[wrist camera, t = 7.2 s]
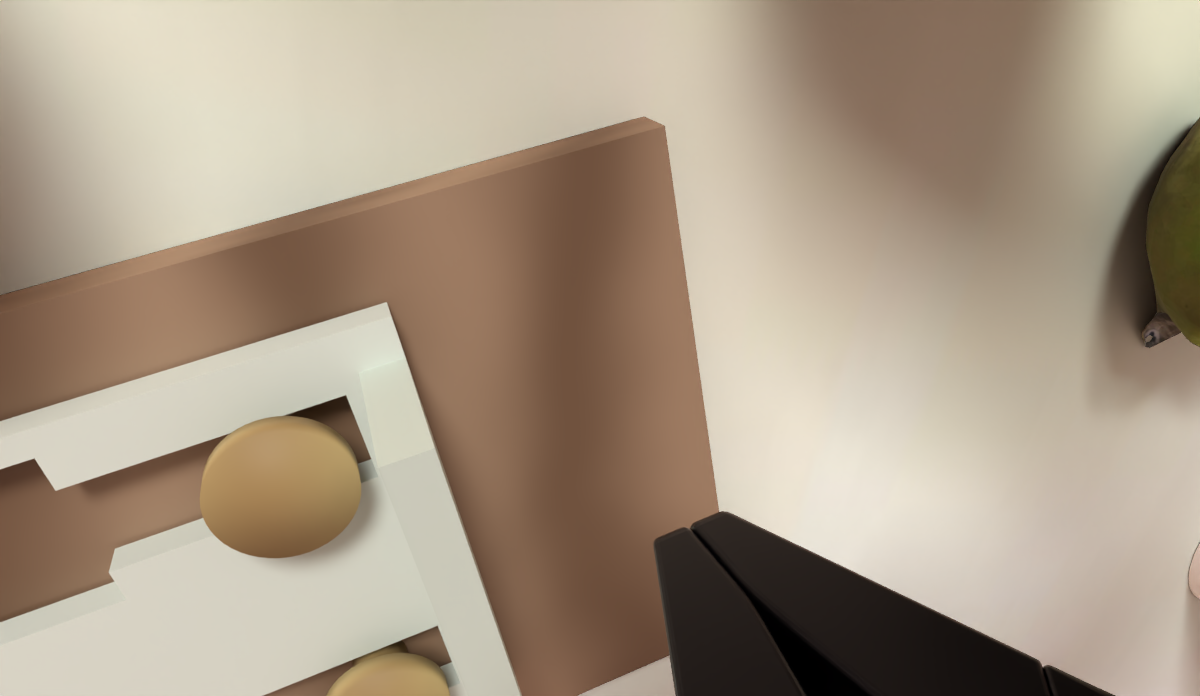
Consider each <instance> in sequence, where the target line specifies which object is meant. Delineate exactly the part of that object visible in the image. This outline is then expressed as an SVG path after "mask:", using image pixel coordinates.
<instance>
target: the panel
mask: <svg viewBox="0 0 1200 696" xmlns="http://www.w3.org/2000/svg"><path fill="white" fill-rule="evenodd" d="M345 395H346V396H347V399H348V401H349V404H350V406H351V409H352V411H353V414H354V416H355V419H356V421H357V424H358V427H359V429H360V432H361V434H362V437H363V439H364V442H365V444H366V447H367V449H368V452H369V454H370V457H371V459H370V460H367V461H365V462H362V463H359V464H358V468H359V474H360V481H361V498H360V503H359V506H358V509H357V511H356V513H355V515H354V517H353V519H352V520H351V522H350V523H349V525H348V526H347V527H346V528H345V529H344V530H343V531H342V532H341V533H340V534H339V535H338V536H337V537H336V538H334V539H333V540H331V541H330V542H329V543H327V544H325V545H323V546H322V547H320V548H318V549H315V550H313V551H311V552H308V553H305V554H301V555H297V556H293V557H286V558H262V557H256V556H251V555H247V554H244V553H241V552H238V551H236V550H234V549H232V548H230V547H229V546H227V545H225V544H224V543H222V542H221V541H220V540H219V539H218V538H216V536H215V535H214V534H213V533H212V532H211V531H210V529H209V528H208V526H207V525H206V523H205V521H204V519H203V518H201V519H199V520H196V521H193V522H190V523H187V524H184V525H181V526H178V527H176V528H173V529H170V530H167V531H164V532H161V533H158V534H156V535H153V536H150V537H147V538H144V539H141V540H138V541H135V542H133V543H130V544H127V545H124V546H121V547H118V548H115V551H114V554H113V558H112V562H111V566H110V569H109V574H110V575H111V577H112V578H113V580H114V581H115V582H112V583H109V584H106V585H103V586H101V587H98V588H95V589H92V590H89V591H87V592H84V593H81V594H78V595H75V596H73V597H70V598H67V599H64V600H61V601H59V602H56V603H53V604H50V605H48V606H45V607H42V608H39V609H36V610H34V611H31V612H28V613H25V614H22V615H20V616H17V617H14V618H11V619H8V620H6V621H3V622H0V696H263V695H266V694H268V693H271V692H273V691H276V690H278V689H281V688H283V687H286V686H288V685H291V684H293V683H296V682H298V681H301V680H303V679H306V678H308V677H311V676H313V675H316V674H318V673H321V672H323V671H326V670H328V669H331V668H333V667H336V666H338V665H341V664H343V663H346V662H348V661H351V660H353V659H356V658H358V657H361V656H363V655H366V654H368V653H371V652H373V651H376V650H378V649H381V648H383V647H386V646H388V645H391V644H393V643H396V642H398V641H401V640H403V639H406V638H408V637H410V636H413V635H415V634H418V633H420V632H423V631H425V630H428V629H430V628H433V627H435V626H438V628H439V631H440V633H441V636H442V638H443V641H444V643H445V646H446V648H447V651H448V653H449V656H450V658H451V661H452V662H451V663H448V664H446V665H443V666H441V667H440V668H441V670H442V671H443V673H444V674H445V677H446V680H447V684H448V688H449V692H450V696H522V694H521V691H520V688H519V685H518V682H517V679H516V676H515V673H514V670H513V667H512V664H511V661H510V658H509V655H508V652H507V650H506V647H505V644H504V641H503V638H502V635H501V632H500V629H499V626H498V623H497V621H496V618H495V615H494V612H493V609H492V606H491V603H490V600H489V597H488V594H487V592H486V589H485V586H484V583H483V580H482V577H481V574H480V571H479V568H478V565H477V563H476V560H475V557H474V554H473V551H472V548H471V545H470V542H469V539H468V536H467V533H466V531H465V528H464V525H463V522H462V519H461V516H460V513H459V510H458V507H457V504H456V502H455V499H454V496H453V493H452V490H451V487H450V484H449V481H448V478H447V475H446V473H445V470H444V467H443V464H442V461H441V458H440V455H439V452H438V449H437V446H436V444H435V441H434V438H433V435H432V432H431V429H430V426H429V423H428V420H427V417H426V415H425V412H424V409H423V406H422V403H421V400H420V397H419V394H418V391H417V388H416V386H415V383H414V380H413V377H412V374H411V371H410V368H409V365H408V362H407V359H406V356H405V354H404V351H403V348H402V345H401V342H400V339H399V336H398V333H397V330H396V327H395V325H394V322H393V319H392V316H391V313H390V310H389V307H388V304H387V302H385V303H382V304H379V305H376V306H372V307H369V308H366V309H363V310H359V311H356V312H353V313H350V314H346V315H343V316H340V317H337V318H333V319H330V320H327V321H324V322H320V323H317V324H314V325H311V326H307V327H304V328H301V329H298V330H294V331H291V332H288V333H285V334H281V335H278V336H275V337H272V338H268V339H265V340H262V341H259V342H256V343H252V344H249V345H246V346H243V347H239V348H236V349H233V350H230V351H226V352H223V353H220V354H217V355H213V356H210V357H207V358H204V359H200V360H197V361H194V362H191V363H187V364H184V365H181V366H178V367H174V368H171V369H168V370H165V371H161V372H158V373H155V374H152V375H148V376H145V377H142V378H139V379H136V380H132V381H129V382H126V383H123V384H119V385H116V386H113V387H110V388H106V389H103V390H100V391H97V392H93V393H90V394H87V395H84V396H80V397H77V398H74V399H71V400H67V401H64V402H61V403H58V404H54V405H51V406H48V407H45V408H41V409H38V410H35V411H32V412H29V413H25V414H22V415H19V416H16V417H12V418H9V419H6V420H3V421H0V469H3V468H6V467H9V466H12V465H15V464H19V463H22V462H25V461H28V460H31V459H34V458H35V460H36V462H37V463H38V465H39V466H40V468H41V469H42V471H43V472H44V474H45V475H46V477H47V478H48V480H49V482H50V483H51V485H52V486H53V488H54V489H55V491H57V490H60V489H63V488H66V487H69V486H72V485H75V484H78V483H81V482H84V481H87V480H90V479H93V478H96V477H99V476H102V475H105V474H108V473H111V472H114V471H117V470H120V469H123V468H126V467H129V466H133V465H136V464H139V463H142V462H145V461H148V460H151V459H154V458H157V457H160V456H163V455H166V454H169V453H172V452H175V451H178V450H181V449H184V448H187V447H190V446H193V445H196V444H199V443H202V442H205V441H208V440H211V439H214V438H217V437H220V436H223V435H227V434H230V433H232V432H233V431H235V430H236V429H238V428H240V427H242V426H244V425H246V424H248V423H251V422H253V421H256V420H260V419H264V418H269V417H275V416H284V415H287V414H290V413H293V412H296V411H299V410H302V409H305V408H308V407H311V406H314V405H317V404H321V403H324V402H327V401H330V400H333V399H336V398H339V397H342V396H345Z"/></svg>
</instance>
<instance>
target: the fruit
mask: <svg viewBox="0 0 1200 696" xmlns="http://www.w3.org/2000/svg"><path fill="white" fill-rule="evenodd" d="M1146 249H1147V254H1148V259H1149V263H1150V268H1151V273H1152V277H1153V282H1154V287H1155V294H1156V304H1157V314H1156V315H1155V317H1154V318H1153V319H1152V320H1151V321H1150V322H1149V323H1148V324H1147V326H1146V327H1145V329H1144V330H1143V332H1142V339H1143V340H1144V343H1145V347H1149V348H1150V347H1152V346H1154V345H1157V344H1159V343H1161V342H1163V341H1165V340H1167V339H1169V338H1171V337H1173V336H1175V335H1177V334H1179V333H1181V332H1182V334H1183V335H1184V336H1185V337H1186V338H1187V339H1188V340H1189V341H1190V342H1191V343H1193V344H1195V345H1197V346H1199V347H1200V118H1199V119H1198V120H1197V122H1196V123H1195V124H1194V126H1193V127H1192V128H1191V130H1190V131H1189V133H1188V134H1187V136H1186V137H1185V139H1184V140H1183V142H1182V143H1181V144H1180V145H1179V147H1178V148H1177V149H1176V151H1175V152H1174V153H1173V154H1172V156H1171V157H1170V159H1169V161H1168V163H1167V164H1166V166H1165V168H1164V170H1163V172H1162V173H1161V176H1160V178H1159V181H1158V184H1157V186H1156V189H1155V191H1154V194H1153V196H1152V198H1151V201H1150V203H1149V206H1148V219H1147V233H1146ZM1148 335H1151V336H1153V338H1152V339H1151V341H1150V342H1147V343H1146V341H1145V338H1146V337H1147V336H1148Z"/></svg>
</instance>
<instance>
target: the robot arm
mask: <svg viewBox="0 0 1200 696" xmlns="http://www.w3.org/2000/svg"><path fill="white" fill-rule="evenodd" d="M653 548H654V555H655V561H656V568H657V575H658V581H659V588H660V595H661V601H662V608H663V615H664V621H665V628H666V635H667V641H668V648H669V655H670V662H671V668H672V675H673V682H674V688H675V695H676V696H1115V695H1113V694H1110V693H1108V692H1106V691H1104V690H1102V689H1099V688H1097V687H1095V686H1093V685H1091V684H1088V683H1086V682H1084V681H1082V680H1080V679H1078V678H1076V677H1074V676H1072V675H1070V674H1067V673H1065V672H1063V671H1061V670H1059V669H1057V668H1055V667H1053V666H1051V665H1046V666H1044V667H1042V664H1041V663H1040V661H1039V660H1037V659H1035V658H1033V657H1031V656H1029V655H1027V654H1025V653H1023V652H1021V651H1019V650H1016V649H1014V648H1012V647H1010V646H1008V645H1006V644H1004V643H1002V642H1000V641H998V640H995V639H993V638H991V637H989V636H987V635H985V634H983V633H981V632H979V631H977V630H975V629H972V628H970V627H968V626H966V625H964V624H962V623H960V622H958V621H956V620H954V619H951V618H949V617H947V616H945V615H943V614H941V613H939V612H937V611H935V610H933V609H931V608H928V607H926V606H924V605H922V604H920V603H918V602H916V601H914V600H912V599H910V598H907V597H905V596H903V595H901V594H899V593H897V592H895V591H893V590H891V589H889V588H887V587H884V586H882V585H880V584H878V583H876V582H874V581H872V580H870V579H868V578H866V577H863V576H861V575H859V574H857V573H855V572H853V571H851V570H849V569H847V568H845V567H843V566H840V565H838V564H836V563H834V562H832V561H830V560H828V559H826V558H824V557H822V556H819V555H817V554H815V553H813V552H811V551H809V550H807V549H805V548H803V547H801V546H799V545H796V544H794V543H792V542H790V541H788V540H786V539H784V538H782V537H780V536H778V535H775V534H773V533H771V532H769V531H767V530H765V529H763V528H761V527H759V526H757V525H755V524H752V523H750V522H748V521H746V520H744V519H742V518H740V517H738V516H736V515H734V514H731V513H729V512H724V511H721V512H718V513H715V514H713V515H710V516H708V517H706V518H703V519H701V520H698V521H696V522H694V523H693V524H692V525H691V527H690V529H689V528H687V527H682V528H679V529H677V530H674V531H672V532H670V533H667V534H665V535H662V536H660V537H658V538H656V539H655V540H654V543H653Z"/></svg>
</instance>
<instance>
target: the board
mask: <svg viewBox="0 0 1200 696" xmlns="http://www.w3.org/2000/svg"><path fill="white" fill-rule="evenodd" d="M385 302H387V304H388V307H389V310H390V313H391V316H392V319H393V322H394V325H395V327H396V330H397V333H398V336H399V339H400V342H401V345H402V348H403V351H404V354H405V356H406V359H407V362H408V365H409V368H410V371H411V374H412V377H413V380H414V383H415V386H416V388H417V391H418V394H419V397H420V400H421V403H422V406H423V409H424V412H425V415H426V417H427V420H428V423H429V426H430V429H431V432H432V435H433V438H434V441H435V444H436V446H437V449H438V452H439V455H440V458H441V461H442V464H443V467H444V470H445V473H446V475H447V478H448V481H449V484H450V487H451V490H452V493H453V496H454V499H455V502H456V504H457V507H458V510H459V513H460V516H461V519H462V522H463V525H464V528H465V531H466V533H467V536H468V539H469V542H470V545H471V548H472V551H473V554H474V557H475V560H476V563H477V565H478V568H479V571H480V574H481V577H482V580H483V583H484V586H485V589H486V592H487V594H488V597H489V600H490V603H491V606H492V609H493V612H494V615H495V618H496V621H497V623H498V626H499V629H500V632H501V635H502V638H503V641H504V644H505V647H506V650H507V652H508V655H509V658H510V661H511V664H512V667H513V670H514V673H515V676H516V679H517V682H518V685H519V688H520V691H521V694H522V696H577V695H579V694H582V693H584V692H586V691H588V690H591V689H593V688H595V687H598V686H600V685H602V684H604V683H607V682H609V681H611V680H614V679H616V678H618V677H621V676H623V675H625V674H627V673H630V672H632V671H634V670H637V669H639V668H641V667H643V666H646V665H648V664H650V663H653V662H655V661H657V660H659V659H662V658H664V657H666V656H669V648H668V641H667V635H666V628H665V621H664V615H663V608H662V601H661V595H660V588H659V581H658V575H657V568H656V561H655V555H654V548H653V543H654V540H655V539H656V538H658V537H660V536H662V535H665V534H667V533H670V532H672V531H674V530H677V529H679V528H682V527H687V528H689V529H690V527H691V525H692V524H693V523H694V522H696V521H698V520H701V519H703V518H706V517H708V516H710V515H713V514H715V513H718V512H719V508H718V501H717V494H716V487H715V480H714V473H713V466H712V459H711V451H710V444H709V437H708V430H707V423H706V416H705V409H704V402H703V395H702V388H701V380H700V373H699V366H698V359H697V352H696V345H695V338H694V331H693V324H692V316H691V309H690V302H689V295H688V288H687V281H686V274H685V267H684V260H683V253H682V245H681V238H680V231H679V224H678V217H677V210H676V203H675V196H674V189H673V181H672V174H671V167H670V160H669V153H668V146H667V139H666V132H665V126H664V125H661V124H659V123H657V122H655V121H653V120H650V119H648V118H646V117H641V118H637V119H633V120H630V121H626V122H623V123H619V124H615V125H612V126H608V127H605V128H601V129H597V130H594V131H590V132H587V133H583V134H579V135H576V136H572V137H569V138H565V139H561V140H558V141H554V142H551V143H547V144H543V145H540V146H536V147H533V148H529V149H525V150H522V151H518V152H515V153H511V154H507V155H504V156H500V157H497V158H493V159H489V160H486V161H482V162H479V163H475V164H471V165H468V166H464V167H461V168H457V169H453V170H450V171H446V172H443V173H439V174H435V175H432V176H428V177H425V178H421V179H417V180H414V181H410V182H407V183H403V184H399V185H396V186H392V187H389V188H385V189H381V190H378V191H374V192H371V193H367V194H363V195H360V196H356V197H352V198H349V199H345V200H342V201H338V202H334V203H331V204H327V205H324V206H320V207H316V208H313V209H309V210H306V211H302V212H298V213H295V214H291V215H288V216H284V217H280V218H277V219H273V220H270V221H266V222H262V223H259V224H255V225H252V226H248V227H244V228H241V229H237V230H234V231H230V232H226V233H223V234H219V235H216V236H212V237H208V238H205V239H201V240H198V241H194V242H190V243H187V244H183V245H180V246H176V247H172V248H169V249H165V250H162V251H158V252H154V253H151V254H147V255H144V256H140V257H136V258H133V259H129V260H126V261H122V262H118V263H115V264H111V265H108V266H104V267H100V268H97V269H93V270H90V271H86V272H82V273H79V274H75V275H72V276H68V277H64V278H61V279H57V280H54V281H50V282H46V283H43V284H39V285H36V286H32V287H28V288H25V289H21V290H18V291H14V292H10V293H7V294H3V295H0V421H3V420H6V419H9V418H12V417H16V416H19V415H22V414H25V413H29V412H32V411H35V410H38V409H41V408H45V407H48V406H51V405H54V404H58V403H61V402H64V401H67V400H71V399H74V398H77V397H80V396H84V395H87V394H90V393H93V392H97V391H100V390H103V389H106V388H110V387H113V386H116V385H119V384H123V383H126V382H129V381H132V380H136V379H139V378H142V377H145V376H148V375H152V374H155V373H158V372H161V371H165V370H168V369H171V368H174V367H178V366H181V365H184V364H187V363H191V362H194V361H197V360H200V359H204V358H207V357H210V356H213V355H217V354H220V353H223V352H226V351H230V350H233V349H236V348H239V347H243V346H246V345H249V344H252V343H256V342H259V341H262V340H265V339H268V338H272V337H275V336H278V335H281V334H285V333H288V332H291V331H294V330H298V329H301V328H304V327H307V326H311V325H314V324H317V323H320V322H324V321H327V320H330V319H333V318H337V317H340V316H343V315H346V314H350V313H353V312H356V311H359V310H363V309H366V308H369V307H372V306H376V305H379V304H382V303H385ZM370 459H371V457H370V454H369V452H368V449H367V447H366V444H365V442H364V439H363V437H362V434H361V432H360V429H359V427H358V424H357V421H356V419H355V416H354V414H353V411H352V409H351V406H350V404H349V401H348V399H347V396H346V395H345V396H342V397H339V398H336V399H333V400H330V401H327V402H324V403H321V404H317V405H314V406H311V407H308V408H305V409H302V410H299V411H296V412H293V413H290V414H287V415H284V416H275V417H269V418H264V419H260V420H256V421H253V422H251V423H248V424H246V425H244V426H242V427H240V428H238V429H236V430H235V431H233V432H232V433H230V434H227V435H223V436H220V437H217V438H214V439H211V440H208V441H205V442H202V443H199V444H196V445H193V446H190V447H187V448H184V449H181V450H178V451H175V452H172V453H169V454H166V455H163V456H160V457H157V458H154V459H151V460H148V461H145V462H142V463H139V464H136V465H133V466H129V467H126V468H123V469H120V470H117V471H114V472H111V473H108V474H105V475H102V476H99V477H96V478H93V479H90V480H87V481H84V482H81V483H78V484H75V485H72V486H69V487H66V488H63V489H60V490H57V491H55V489H54V488H53V486H52V485H51V483H50V482H49V480H48V478H47V477H46V475H45V474H44V472H43V471H42V469H41V468H40V466H39V465H38V463H37V462H36V460H35V458H34V459H31V460H28V461H25V462H22V463H19V464H15V465H12V466H9V467H6V468H3V469H0V622H3V621H6V620H8V619H11V618H14V617H17V616H20V615H22V614H25V613H28V612H31V611H34V610H36V609H39V608H42V607H45V606H48V605H50V604H53V603H56V602H59V601H61V600H64V599H67V598H70V597H73V596H75V595H78V594H81V593H84V592H87V591H89V590H92V589H95V588H98V587H101V586H103V585H106V584H109V583H112V582H115V581H114V580H113V578H112V577H111V575H110V574H109V569H110V566H111V562H112V558H113V554H114V551H115V548H118V547H121V546H124V545H127V544H130V543H133V542H135V541H138V540H141V539H144V538H147V537H150V536H153V535H156V534H158V533H161V532H164V531H167V530H170V529H173V528H176V527H178V526H181V525H184V524H187V523H190V522H193V521H196V520H199V519H201V518H203V519H204V521H205V523H206V525H207V526H208V528H209V529H210V531H211V532H212V533H213V534H214V535H215V536H216V538H218V539H219V540H220V541H221V542H222V543H224V544H225V545H227V546H229V547H230V548H232V549H234V550H236V551H238V552H241V553H244V554H247V555H251V556H256V557H262V558H286V557H293V556H297V555H301V554H305V553H308V552H311V551H313V550H315V549H318V548H320V547H322V546H323V545H325V544H327V543H329V542H330V541H331V540H333V539H334V538H336V537H337V536H338V535H339V534H340V533H341V532H342V531H343V530H344V529H345V528H346V527H347V526H348V525H349V523H350V522H351V520H352V519H353V517H354V515H355V513H356V511H357V509H358V506H359V503H360V498H361V481H360V474H359V468H358V464H359V463H362V462H365V461H367V460H370ZM451 662H452V661H451V658H450V656H449V653H448V651H447V648H446V646H445V643H444V641H443V638H442V636H441V633H440V631H439V628H438V626H435V627H433V628H430V629H428V630H425V631H423V632H420V633H418V634H415V635H413V636H410V637H408V638H406V639H403V640H401V641H398V642H396V643H393V644H391V645H388V646H386V647H383V648H381V649H378V650H376V651H373V652H371V653H368V654H366V655H363V656H361V657H358V658H356V659H353V660H351V661H348V662H346V663H343V664H341V665H338V666H336V667H333V668H331V669H328V670H326V671H323V672H321V673H318V674H316V675H313V676H311V677H308V678H306V679H303V680H301V681H298V682H296V683H293V684H291V685H288V686H286V687H283V688H281V689H278V690H276V691H273V692H271V693H268V694H266V695H263V696H450V692H449V688H448V684H447V680H446V677H445V674H444V673H443V671H442V670H441V668H440V667H441V666H443V665H446V664H448V663H451Z"/></svg>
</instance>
